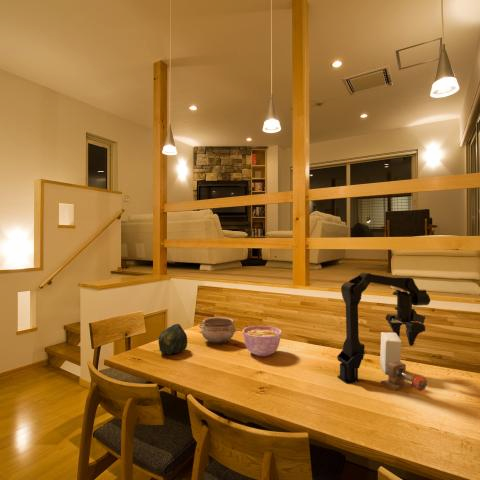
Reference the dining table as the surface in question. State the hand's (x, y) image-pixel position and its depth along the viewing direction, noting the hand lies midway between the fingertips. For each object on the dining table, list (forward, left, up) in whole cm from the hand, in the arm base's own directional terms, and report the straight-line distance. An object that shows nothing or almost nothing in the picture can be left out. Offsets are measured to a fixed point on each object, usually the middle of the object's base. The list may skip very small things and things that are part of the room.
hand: (404, 342), depth 130 cm
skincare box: (-3, +5, -13) cm, 15 cm away
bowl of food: (-49, +41, -14) cm, 66 cm away
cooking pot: (-66, +65, -14) cm, 94 cm away
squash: (-92, +57, -14) cm, 109 cm away
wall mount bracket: (-11, -7, -14) cm, 19 cm away
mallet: (-11, -10, -11) cm, 19 cm away
